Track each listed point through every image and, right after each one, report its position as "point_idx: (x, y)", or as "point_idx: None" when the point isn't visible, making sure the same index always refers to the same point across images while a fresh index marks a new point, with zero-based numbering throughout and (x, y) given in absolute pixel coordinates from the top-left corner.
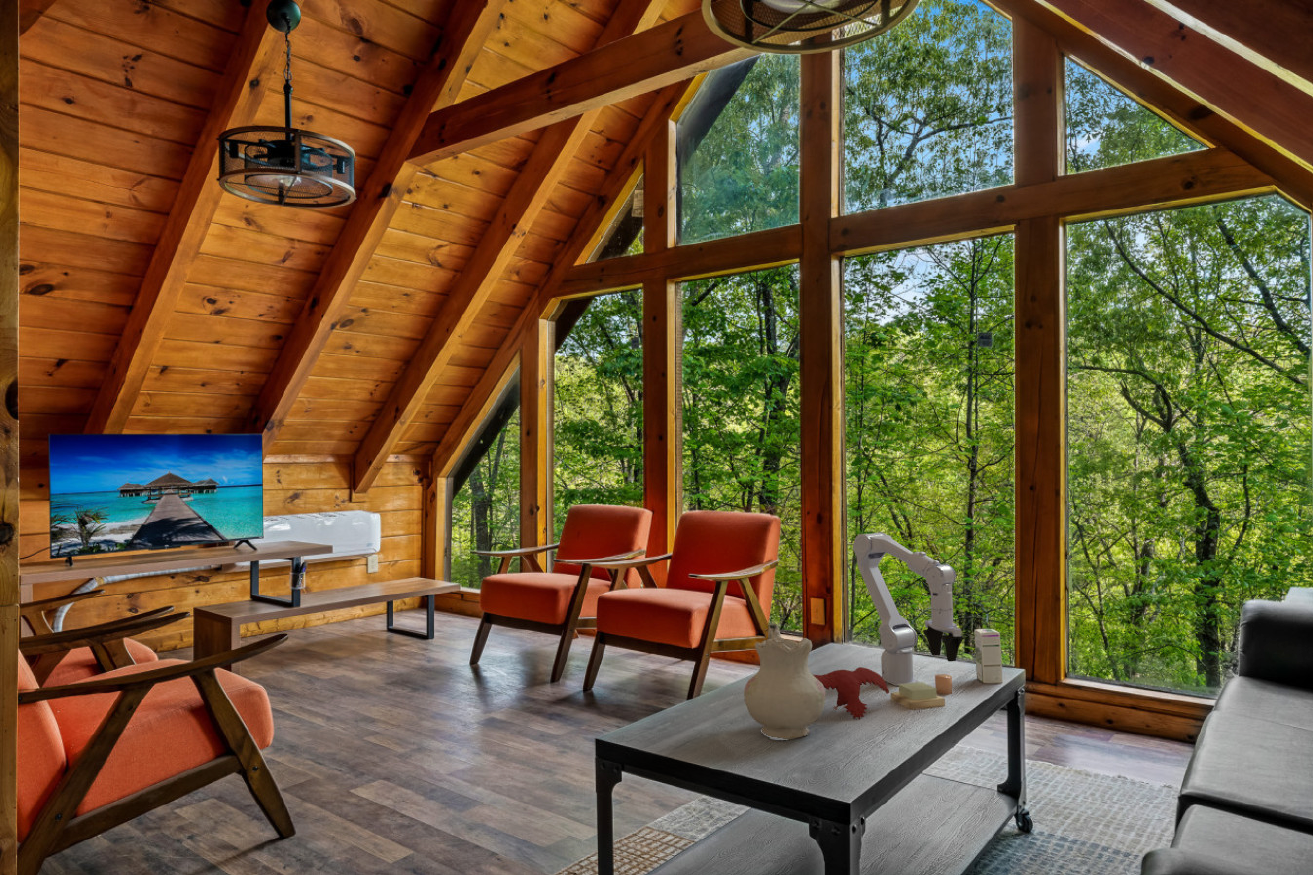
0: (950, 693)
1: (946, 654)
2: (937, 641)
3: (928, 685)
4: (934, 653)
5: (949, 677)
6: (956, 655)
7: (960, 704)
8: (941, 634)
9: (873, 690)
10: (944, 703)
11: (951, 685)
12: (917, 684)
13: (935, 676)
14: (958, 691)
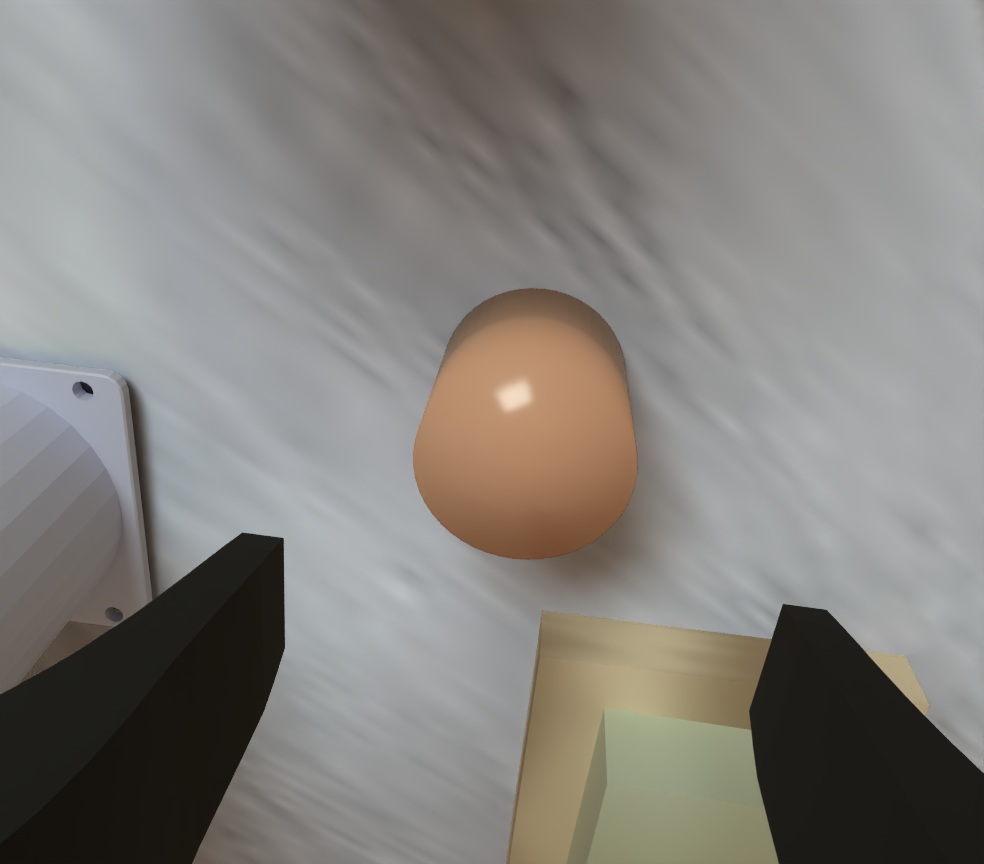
0: (624, 362)
1: (771, 833)
2: (158, 770)
3: (758, 815)
4: (272, 653)
5: (622, 444)
6: (881, 678)
7: (980, 529)
8: (46, 836)
9: (219, 807)
10: (911, 674)
11: (620, 372)
12: (663, 862)
13: (488, 551)
14: (581, 203)
